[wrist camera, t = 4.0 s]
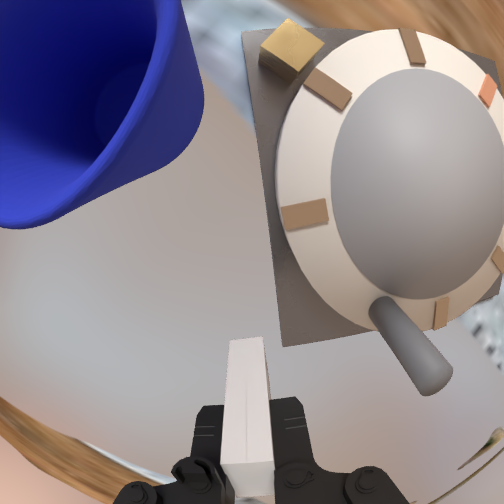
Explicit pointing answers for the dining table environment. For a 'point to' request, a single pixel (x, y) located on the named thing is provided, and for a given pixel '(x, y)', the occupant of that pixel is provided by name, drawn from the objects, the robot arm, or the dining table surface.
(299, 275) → the bearing plate
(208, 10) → the dining table surface
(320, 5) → the dining table surface
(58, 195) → the mug
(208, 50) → the dining table surface
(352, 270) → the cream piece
